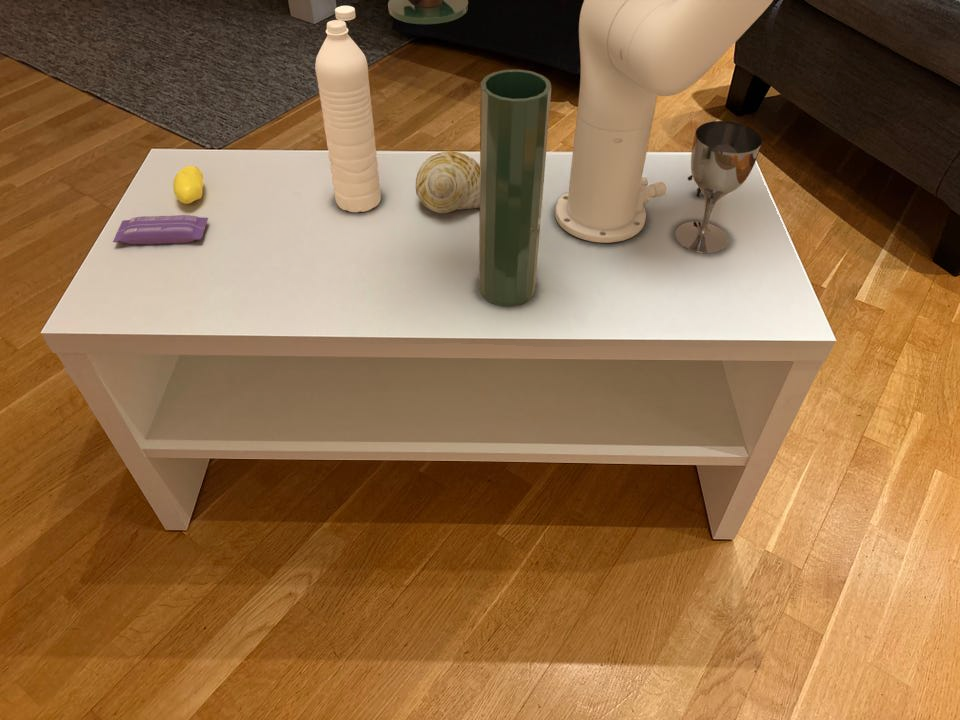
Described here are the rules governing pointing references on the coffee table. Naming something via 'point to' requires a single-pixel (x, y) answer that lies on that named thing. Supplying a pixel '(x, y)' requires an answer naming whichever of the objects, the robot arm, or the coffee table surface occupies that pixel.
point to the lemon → (188, 184)
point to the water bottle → (348, 117)
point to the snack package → (161, 229)
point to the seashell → (449, 182)
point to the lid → (427, 10)
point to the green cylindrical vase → (511, 182)
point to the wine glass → (717, 176)
